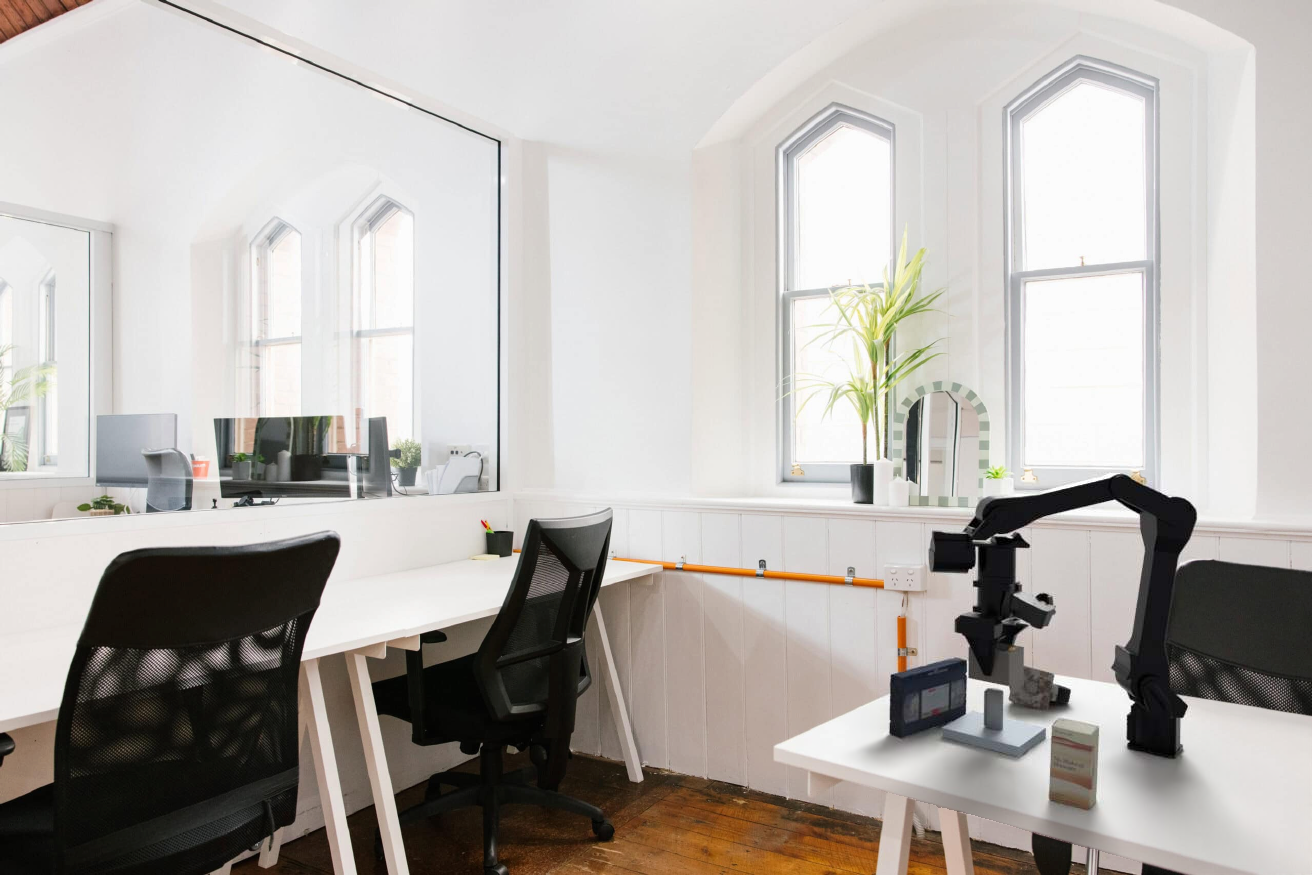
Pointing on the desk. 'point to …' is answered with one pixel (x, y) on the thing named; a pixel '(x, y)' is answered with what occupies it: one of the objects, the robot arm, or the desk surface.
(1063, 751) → the skincare box
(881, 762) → the desk surface
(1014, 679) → the open cubby box
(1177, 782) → the desk surface
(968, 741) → the square peg stand
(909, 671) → the vhs cassette tape
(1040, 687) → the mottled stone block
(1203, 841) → the desk surface
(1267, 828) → the desk surface
